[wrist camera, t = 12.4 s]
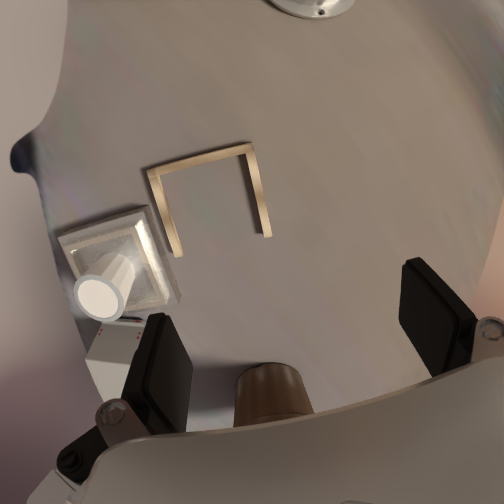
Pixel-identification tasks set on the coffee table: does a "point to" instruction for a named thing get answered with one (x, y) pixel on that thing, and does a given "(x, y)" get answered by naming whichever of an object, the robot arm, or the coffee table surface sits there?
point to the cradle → (196, 160)
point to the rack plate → (133, 248)
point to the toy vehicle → (113, 355)
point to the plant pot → (270, 395)
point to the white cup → (105, 287)
